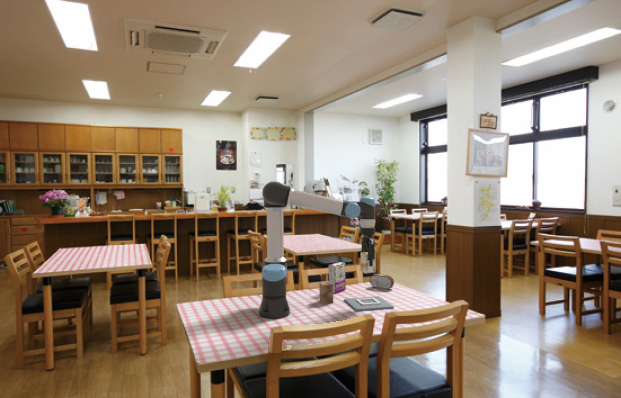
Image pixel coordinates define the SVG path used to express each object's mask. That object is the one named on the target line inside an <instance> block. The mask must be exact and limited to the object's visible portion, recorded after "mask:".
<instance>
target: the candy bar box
mask: <svg viewBox="0 0 621 398" xmlns="http://www.w3.org/2000/svg"><path fill="white" fill-rule="evenodd" d="M328 282H331V283H332V284H333V294H339V293H341V292H343V291H346V289H347V288H346V263H345V262H341V261H338V262H334V263H332V264H328Z"/></svg>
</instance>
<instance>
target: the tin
mask: <svg viewBox="0 0 621 398" xmlns="http://www.w3.org/2000/svg"><path fill="white" fill-rule="evenodd" d="M369 284H370V285H371V287H373V288H376V289H382V290H389V289H390V290H391V289H392V288H393V287H394V286H395V285H394V284H395V280H394V278H393V277H392V276H391V275H388V274H382V273H372V275H371V276H370V278H369Z"/></svg>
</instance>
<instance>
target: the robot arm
mask: <svg viewBox="0 0 621 398" xmlns="http://www.w3.org/2000/svg"><path fill="white" fill-rule="evenodd" d="M261 191H262V192H261V195H262V199H263V208H264V210H266V248H267V249H266V251H267V252H266V257H265V258H264V259H263V260H264V264H263V267H262V269H261V286H262V287H261V288H262V289H261V290H262V291H261V295H262V296H261V301H260V305H259V308H258V315H259V316H260V317H262V318H264V319H281V318H286V317H288V316H289V315H290V314H291V307H290V305H289V302H288V299H287V278H288V277H287V276H288V265H287V264H288V263H287V258H286V257H284V254H285V253H284V252H285V251H284V250H285V249H284V244H285V243H284V242H285V241H284V238H285V237H284V211H285V210H286V208H287V207H289V206H290V205H291V206H294V207H299V208H304V209H308V210H313V211H318V212H322V213H326V214H333V215H336V216H338V217H345V218H349V219H356V218H358V217H360V221H359V223H360V235H361V236H362V237H360V239H361V248H360V249H361V252H368V259H367V260H368V273H367V274H372V273H371V272H373V260H374V259H375V253H376V249H375V247H376V246H375V244H376V243H375V242H376V240H375V239H373V236H375V235H376V227H375V225H376V222H377V221H376V202H375V201H376V200H375V198H374V197H360V200H358V201H347V200H343V199H339V198H333V197H329V196H323V195H319V194H316V193H315V194H314V193H312V192H311V193H310V192H306V191H302V190H298V189H297V190H296V189H293V187H292V186H290V185H286V184H283V183H281V182H280V181H273V180H272V181H269V182H267V183H266V184H265V185H264V186H263V188H262V190H261ZM361 252H360V253H361Z"/></svg>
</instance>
